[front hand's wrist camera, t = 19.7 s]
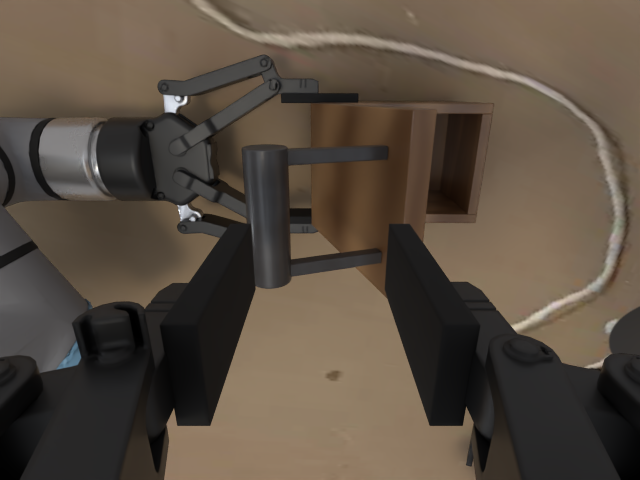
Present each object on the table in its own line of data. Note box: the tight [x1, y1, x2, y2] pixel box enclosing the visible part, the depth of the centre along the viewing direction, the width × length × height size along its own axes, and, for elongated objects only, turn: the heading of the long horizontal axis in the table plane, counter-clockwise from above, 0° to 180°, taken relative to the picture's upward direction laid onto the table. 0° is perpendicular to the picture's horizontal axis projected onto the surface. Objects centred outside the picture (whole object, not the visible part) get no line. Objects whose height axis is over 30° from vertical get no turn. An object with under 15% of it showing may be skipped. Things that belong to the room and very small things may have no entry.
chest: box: [333, 101, 494, 223], centre depth 37 cm, size 14×10×10 cm
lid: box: [242, 103, 437, 299], centre depth 24 cm, size 15×10×9 cm
